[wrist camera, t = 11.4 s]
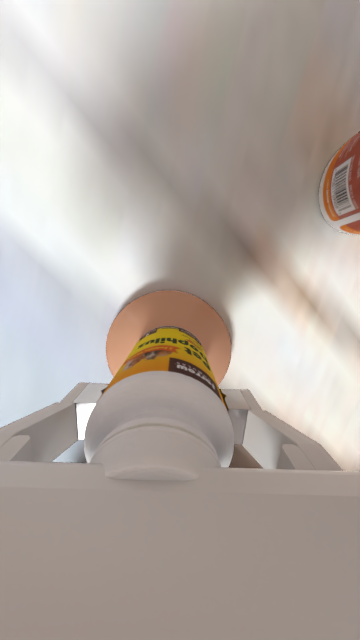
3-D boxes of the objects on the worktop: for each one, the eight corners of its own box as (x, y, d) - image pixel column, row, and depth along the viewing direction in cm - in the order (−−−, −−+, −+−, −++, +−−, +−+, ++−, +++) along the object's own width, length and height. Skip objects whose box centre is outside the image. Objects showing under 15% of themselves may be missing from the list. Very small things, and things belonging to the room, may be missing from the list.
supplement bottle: (211, 331, 14) (303, 461, 4) (194, 394, 15) (232, 621, 5) (140, 316, 13) (35, 415, 3) (128, 381, 15) (23, 599, 5)
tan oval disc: (252, 354, 15) (256, 358, 14) (166, 421, 17) (165, 427, 16) (173, 262, 14) (173, 261, 13) (84, 346, 15) (79, 349, 14)
